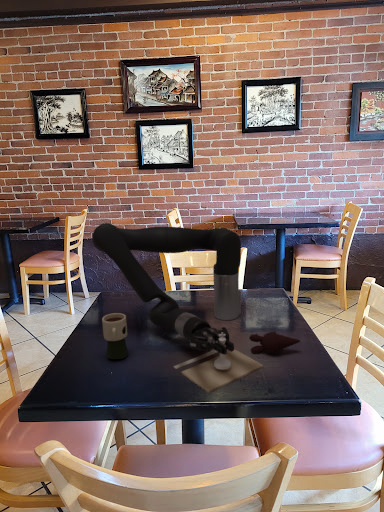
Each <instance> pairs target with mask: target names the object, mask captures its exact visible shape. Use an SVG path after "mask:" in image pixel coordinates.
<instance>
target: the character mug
mask: <svg viewBox="0 0 384 512" xmlns="http://www.w3.org/2000/svg"><path fill="white" fill-rule="evenodd" d="M101 322H102V333H103V338H104V340H105V341H107V344H106V345H107V347H106V358H108V359H110V360H122V359H124V358H126V357H127V356H128V348H127V344H126V340H125V338H126V337H128V325H127V323H128V322H127V315H126V314H125V313H120V312H113V313H108V314H105V315H104V316H103V317H102V318H101Z"/></svg>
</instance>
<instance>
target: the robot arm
mask: <svg viewBox="0 0 384 512" xmlns="http://www.w3.org/2000/svg"><path fill="white" fill-rule="evenodd" d="M240 238H241V237H240V236H239V235H238V233H236V232H235V231H233V230H231V229H229V228H226V227H225V228H224V227H220V228H219V227H218V228H207V229H206V228H203V229H201V228H200V229H194V228H189V227H178V226H151V227H142V228H133V229H132V228H131V229H130V228H121V227H117V226H116V225H114V224H112V223H107V222H105V223H101V224H99V225H98V226H96V227H95V229H94V230H93V232H92V238H91V240H92V244H93V246H94V247H95V249H97V250H98V251H100V252H101V253H105V254H106V256H108V257H109V258H110V259H111V260H112V261H113V262H114V263H115V265H116V266H117V267H118V269H119V270H120V271H121V273H122V275H123V276H124V278H125V280H127V282H128V284H129V286H130V287H131V288H132V290H133V291H134V292H135V293H136V295H138V298H139V299H140V300H141V301H142V302H143V303H149V302H151V301H153V300H156V299H158V300H160V301H159V302H158V303H156V304H155V305H154V306H153V307H152V308H151V309H150V310H149V313H148V317H149V320H150V321H151V323H152V324H153V325H155V326H157V327H159V328H164V329H170V330H172V331H175V332H176V333H178V335H180V336H181V337H183V338H184V339H186V340H187V341H189V345H190V346H189V348H190V349H192V350H193V349H194V350H196V351H202V352H203V351H204V352H206V353H208V352H211V351H213V350H214V351H215V350H216V351H217V352H218V353H219V354H220V353H221V354H224V355H225V354H227V353H228V352H230V351H231V352H232V351H234V350H235V343H233V342H232V341H230V334H229V332H228V329H227V327H225V326H224V327H221V329H219V330H218V329H217V328H214V327H211V325H210V324H209V322H208V321H206V320H205V319H202V318H200V317H199V316H197V315H195V314H193V313H189V312H187V311H186V310H184V309H183V308H180V306H179V303H178V302H177V301H176V300H175V299H174V298H173V297H171V296H170V295H168V294H167V293H165V292H164V291H163V289H161V288H160V287H159V286H158V285H157V284H156V282H155V281H154V280H153V278H152V277H151V276H150V275H149V274H148V272H147V270H145V268H144V267H143V266H142V265H141V264H140V262H139V261H138V260H137V258H136V257H135V255H134V254H133V253H132V251H138V252H146V253H155V254H156V253H157V254H158V253H159V254H180V253H184V252H190V251H194V250H208V251H214V252H216V255H215V256H216V258H215V259H216V260H215V261H216V262H215V263H214V265H213V267H212V268H213V269H212V270H213V306H214V307H213V309H214V313H213V314H214V318H215V319H218V320H221V321H232V320H235V319H237V318H239V316H241V309H242V308H241V307H242V306H241V300H242V297H241V295H242V294H241V293H242V292H241V291H240V289H239V288H240V287H239V286H240V285H239V269H240V265H241V258H242V257H241V256H242V243H241V239H240ZM221 332H223V334H225V336H223V337H224V338H226V341H225V344H224V345H226V346H224V345H222V344H220V342H219V338H221V336H220V337H219V334H221Z"/></svg>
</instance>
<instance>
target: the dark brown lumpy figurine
mask: <svg viewBox="0 0 384 512" xmlns="http://www.w3.org/2000/svg"><path fill="white" fill-rule="evenodd" d="M248 339H249V340H250V341H251V342H255V343H259V344H260V345H254V346H252V347H251V349H250V352H251V354H259V353H262V352H263V351H264V352H265V353H268V354H277V355H278V354H279V352H280V351H282V350H284V349H287V348H289V347H291V346H293V345H294V346H295V345H296V344H298V343H300V342H301V340H300V339H298V338H294V337H290V336H286V335H282V334H279V333H277V332H276V330H274V331H270V332H267V333H265V334H264V335H263V336H261V335H259V334H258V333H255V334H252V333H251V334H250V336H249V337H248Z"/></svg>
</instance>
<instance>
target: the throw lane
mask: <svg viewBox="0 0 384 512" xmlns="http://www.w3.org/2000/svg"><path fill="white" fill-rule="evenodd" d="M218 353H219V352H217V351H216V350H215V351H214V350H210V351H209V352H206V353H203V354H201V355H197V356H196V357H194V358H191V359H188V360H186V361H183V362H181V363H178V364H175V365H173V368H174V369H175V370H179V369H181V368H184V367H185V366H188V365H191V364H193V363H195V362H198V361H200V360H203V359H205V358H208V357H210V356H212V355H215V354H218ZM219 358H220V355H219V356H216V357H213V358H210V359H209V360H206V361H204V362H202V363H198V364H197V365H195V366H192V367H189V368H188V369H184V370H182V371H181V374H182V375H183V376H184V377H185V378H187V379H188V380H190V381H191V382H192V383H193V384H195V385H196V384H197V385H196V386H198V387H199V388H200V387H201V388H200V389H201V390H203V391H204V390H205V391H204V392H205V393H207V394H211V393H212V391H213V392H214V391H217V390H218V389H220V388H223V387H225V386H227V385H229V384H231V383H233V382H236V381H238V380H240V379H242V378H245V377H246V376H248V375H250V374H253V373H254V372H256V371H259V370H260V369H263V368H264V365H263V364H262V363H260V362H258V361H256V360H254V359H253V358H251V357H250V356H248V355H246V354H243V353H242V352H240V351H239V350H237V349H234V351H232V352H231V351H227V354H225V358H226V359H228V360H230V361H231V367H230V368H228V369H217V368H216V367H215V366H214V361H215V360H217V359H219ZM210 392H211V393H210Z"/></svg>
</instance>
